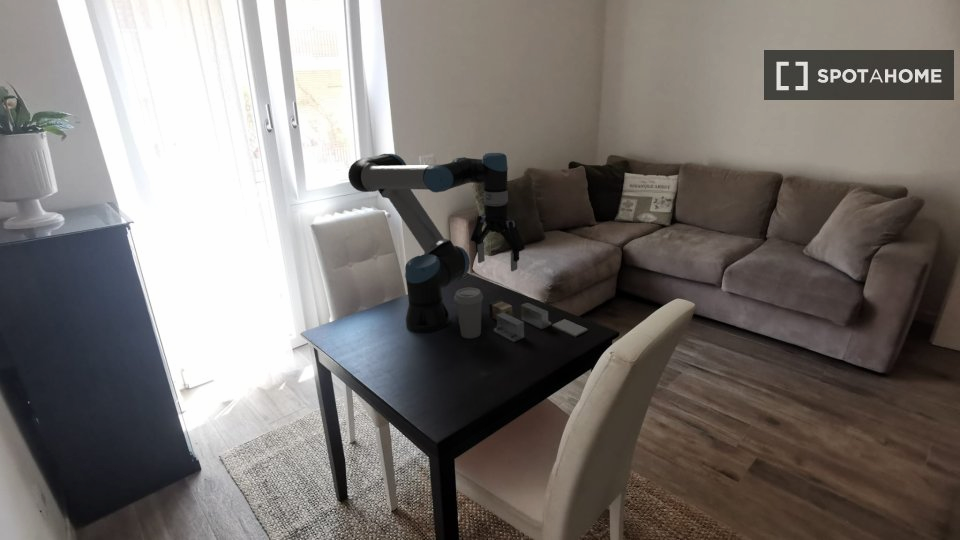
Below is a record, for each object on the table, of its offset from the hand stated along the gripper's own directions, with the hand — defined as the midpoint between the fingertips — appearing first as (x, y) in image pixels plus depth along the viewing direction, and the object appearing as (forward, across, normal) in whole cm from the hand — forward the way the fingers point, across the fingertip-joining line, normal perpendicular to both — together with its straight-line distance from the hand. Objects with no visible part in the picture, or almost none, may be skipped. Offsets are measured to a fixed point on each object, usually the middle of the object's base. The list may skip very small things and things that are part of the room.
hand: (497, 265), depth 163 cm
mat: (+20, +23, +8) cm, 32 cm away
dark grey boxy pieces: (+20, +10, 0) cm, 23 cm away
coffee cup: (+21, -2, -13) cm, 24 cm away
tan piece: (+20, 0, +2) cm, 21 cm away
